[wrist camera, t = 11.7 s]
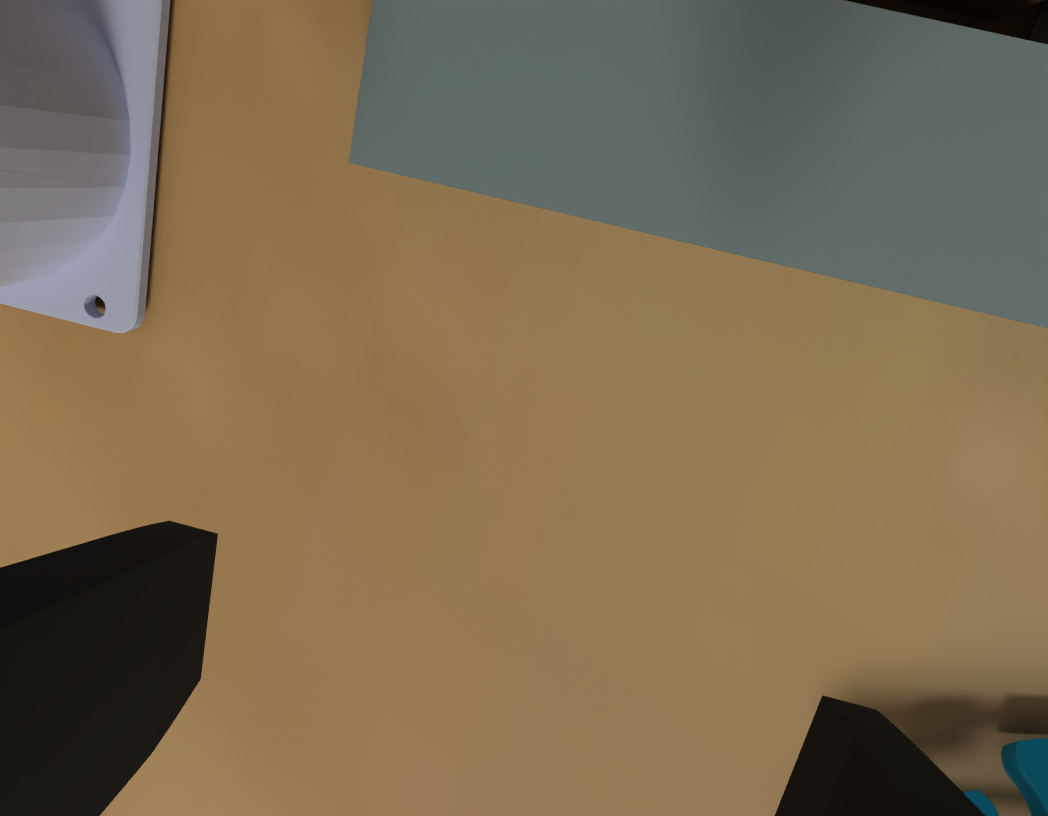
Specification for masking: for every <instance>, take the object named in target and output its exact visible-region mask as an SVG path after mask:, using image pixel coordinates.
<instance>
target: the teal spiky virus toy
mask: <svg viewBox="0 0 1048 816" xmlns="http://www.w3.org/2000/svg"><path fill="white" fill-rule="evenodd" d="M1002 763H1003V766H1004V769H1005V771H1006V772H1007V774H1008V776H1009V777H1010V778H1011V780H1012V781H1013V782H1014V783H1015V785H1016V786H1017V787H1018V789H1019V790H1020V792H1021V794H1022V795H1023V797H1024V799H1025V800H1026V803H1027V805H1028V807H1029V810H1030V812H1031V814H1032V816H1048V738H1042V739H1029V740H1023V741H1017V742H1014V743H1010V744H1007V745H1004V746H1003V749H1002ZM963 793H964V794H965V795H966V796H967V797H968V798H969V799H970V800H971V801H972V802H973V803H974V804H975V805H976V806H977V807H978V808H979V809H980V810H981V811H982V813H983V814H984V815H985V816H999V814H998V812H997V810H996V808H995V806H994V805H993V804H992V802H991V801H990V800H989V799H988V798H987V797H986V796H985V795H984V794H982V793H981V792H979V791H978V790H973V791H968V792H963Z"/></svg>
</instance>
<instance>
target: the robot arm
mask: <svg viewBox="0 0 1048 816" xmlns="http://www.w3.org/2000/svg"><path fill="white" fill-rule="evenodd" d="M169 11H170V0H0V303H1V304H5V305H9V306H13V307H17V308H21V309H25V310H29V311H32V312H36V313H40V314H44V315H48V316H52V317H56V318H60V319H64V320H68V321H72V322H76V323H80V324H84V325H88V326H91V327H95V328H99V329H103V330H107V331H111V332H115V333H125V332H128V331H131V330H134V329H136V328H138V327H139V326H140V325H141V324H142V323H143V320H144V316H145V308H146V296H147V284H148V271H149V259H150V247H151V234H152V222H153V209H154V197H155V185H156V172H157V160H158V148H159V135H160V123H161V110H162V98H163V86H164V73H165V61H166V48H167V36H168V24H169ZM97 296H98V297H100V298H101V299H102V300H103V302H104V303H105V307H106V311H105V314H102V313H100V312H99V311H98V309H97V308H96V304H95V300H96V297H97ZM217 536H218V534H217V533H213V532H209V531H206V530H202V529H198V528H194V527H191V526H187V525H183V524H179V523H176V522H172V521H166V522H161V523H156V524H151V525H147V526H143V527H139V528H135V529H131V530H127V531H124V532H120V533H117V534H113V535H110V536H106V537H103V538H99V539H96V540H93V541H89V542H86V543H82V544H79V545H76V546H72V547H69V548H66V549H62V550H59V551H55V552H52V553H49V554H45V555H42V556H38V557H35V558H32V559H28V560H25V561H22V562H18V563H15V564H11V565H8V566H5V567H1V568H0V816H100V815H101V813H102V812H103V811H104V810H105V809H106V807H107V806H108V805H109V804H110V803H111V801H112V800H113V799H114V798H115V797H116V796H117V794H118V793H119V792H120V791H121V790H122V788H123V787H124V786H125V785H126V784H127V783H128V781H129V780H130V779H131V778H132V777H133V775H134V774H135V773H136V772H137V771H138V769H139V768H140V767H141V766H142V765H143V763H144V762H145V761H146V760H147V758H148V757H149V756H150V755H151V754H152V752H153V751H154V749H155V748H156V746H157V745H158V743H159V742H160V740H161V739H162V738H163V736H164V735H165V733H166V732H167V730H168V729H169V727H170V726H171V724H172V723H173V721H174V720H175V718H176V717H177V715H178V714H179V712H180V711H181V709H182V707H183V706H184V704H185V703H186V701H187V700H188V698H189V696H190V695H191V693H192V692H193V690H194V689H195V687H196V685H197V684H198V682H199V681H200V679H201V672H202V663H203V655H204V646H205V638H206V629H207V621H208V612H209V604H210V596H211V587H212V579H213V570H214V562H215V553H216V545H217ZM775 816H985V815H984V814H983V813H982V811H981V810H980V809H979V808H978V807H977V806H976V805H975V804H974V803H973V802H972V801H971V800H970V799H969V798H968V797H967V796H966V795H965V794H964V793H963V792H962V791H961V790H960V789H959V788H958V787H957V786H956V785H955V784H954V783H953V782H952V781H951V780H950V779H949V778H948V777H947V776H946V775H945V774H944V773H943V772H942V771H941V770H940V769H939V768H938V767H937V766H936V765H935V764H934V763H933V762H932V761H931V760H930V759H929V758H928V757H927V756H926V755H925V754H924V753H923V752H922V751H921V750H920V749H919V748H918V747H917V746H916V745H915V744H914V743H913V742H912V741H911V740H910V739H909V738H907V737H906V736H905V735H904V734H903V733H902V732H901V731H900V730H899V729H898V728H897V727H896V726H895V725H894V724H892V723H891V722H890V721H889V720H888V719H887V718H886V717H884V716H883V715H882V714H881V713H880V712H878V711H877V710H875V709H871V708H867V707H864V706H860V705H856V704H853V703H849V702H845V701H841V700H838V699H834V698H830V697H826V696H822V698H821V701H820V703H819V706H818V708H817V711H816V713H815V716H814V718H813V721H812V723H811V726H810V728H809V731H808V733H807V736H806V738H805V741H804V743H803V746H802V748H801V751H800V753H799V756H798V759H797V761H796V764H795V766H794V769H793V771H792V774H791V776H790V779H789V781H788V784H787V786H786V789H785V791H784V794H783V796H782V799H781V801H780V804H779V806H778V809H777V811H776V814H775Z"/></svg>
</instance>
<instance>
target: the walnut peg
mask: <svg viewBox="0 0 1048 816" xmlns="http://www.w3.org/2000/svg"><path fill="white" fill-rule="evenodd" d="M907 1H912V2H916V3H920V4H924V5H929V6H933V7H937V8H942V9H946V10H950V11H955V12H959V13H963V14H968V15H972V16H976V17H980V18H985V19H989V20H993V21H997V20H999V19H1002V18H1004V17H1006V16H1009V15H1011V14H1013V13H1015V12H1018V11H1020V10H1022V9H1025V8H1027V7H1029V6H1031V5H1034V4H1036V3H1038V2H1041V1H1043V0H907Z"/></svg>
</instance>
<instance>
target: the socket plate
mask: <svg viewBox="0 0 1048 816" xmlns="http://www.w3.org/2000/svg"><path fill="white" fill-rule="evenodd" d="M349 163H353V164H357V165H362V166H366V167H370V168H374V169H378V170H383V171H387V172H391V173H395V174H400V175H404V176H408V177H412V178H416V179H421V180H425V181H429V182H433V183H438V184H442V185H446V186H450V187H454V188H459V189H463V190H467V191H471V192H475V193H480V194H484V195H488V196H492V197H497V198H501V199H505V200H509V201H513V202H518V203H522V204H526V205H530V206H535V207H539V208H543V209H547V210H551V211H556V212H560V213H564V214H568V215H573V216H577V217H581V218H585V219H589V220H594V221H598V222H602V223H606V224H611V225H615V226H619V227H623V228H627V229H632V230H636V231H640V232H644V233H649V234H653V235H657V236H661V237H665V238H670V239H674V240H678V241H682V242H687V243H691V244H695V245H699V246H703V247H708V248H712V249H716V250H720V251H724V252H729V253H733V254H737V255H741V256H746V257H750V258H754V259H758V260H762V261H767V262H771V263H775V264H779V265H784V266H788V267H792V268H796V269H800V270H805V271H809V272H813V273H817V274H822V275H826V276H830V277H834V278H838V279H843V280H847V281H851V282H855V283H860V284H864V285H868V286H872V287H876V288H881V289H885V290H889V291H893V292H898V293H902V294H906V295H910V296H914V297H919V298H923V299H927V300H931V301H936V302H940V303H944V304H948V305H952V306H957V307H961V308H965V309H969V310H973V311H978V312H982V313H986V314H990V315H995V316H999V317H1003V318H1007V319H1011V320H1016V321H1020V322H1024V323H1028V324H1033V325H1037V326H1041V327H1045V328H1048V0H1043V3H1042V6H1041V8H1040V11H1039V14H1038V16H1037V19H1036V22H1035V24H1034V27H1033V29H1032V32H1031V35H1030V37H1029V40H1025V39H1020V38H1015V37H1011V36H1006V35H1002V34H997V33H992V32H988V31H983V30H979V29H974V28H969V27H965V26H960V25H955V24H951V23H946V22H942V21H937V20H932V19H928V18H923V17H919V16H914V15H909V14H905V13H900V12H896V11H891V10H886V9H882V8H877V7H872V6H868V5H863V4H859V3H854V2H849V1H845V0H373V3H372V10H371V16H370V23H369V30H368V36H367V43H366V50H365V56H364V63H363V70H362V77H361V83H360V90H359V97H358V103H357V110H356V117H355V123H354V130H353V137H352V143H351V150H350V157H349Z"/></svg>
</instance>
